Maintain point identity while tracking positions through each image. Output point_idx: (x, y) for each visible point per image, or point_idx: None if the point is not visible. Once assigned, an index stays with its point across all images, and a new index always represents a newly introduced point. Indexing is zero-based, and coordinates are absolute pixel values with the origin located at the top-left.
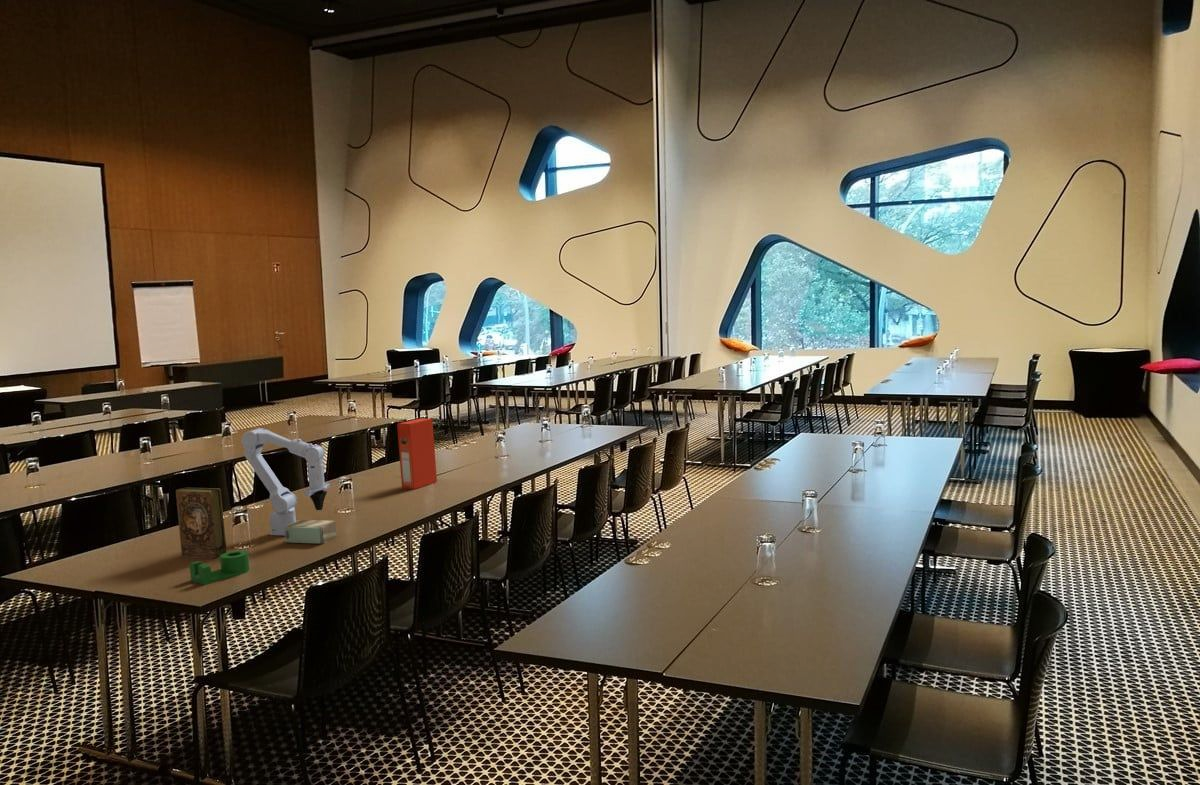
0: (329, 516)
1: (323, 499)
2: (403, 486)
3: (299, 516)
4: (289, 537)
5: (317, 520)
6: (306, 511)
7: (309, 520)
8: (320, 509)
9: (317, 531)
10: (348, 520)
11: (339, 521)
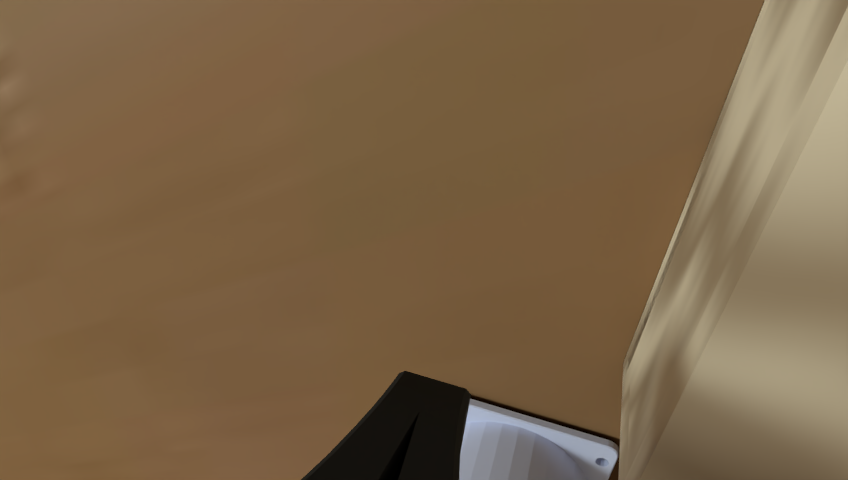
0: (19, 276)
1: None
2: None
3: (103, 444)
4: None
5: (742, 302)
6: (11, 425)
7: (702, 418)
8: (463, 400)
9: None
10: (29, 60)
11: (90, 144)
